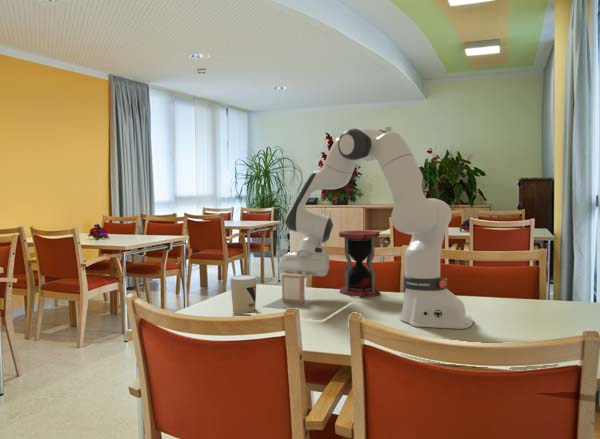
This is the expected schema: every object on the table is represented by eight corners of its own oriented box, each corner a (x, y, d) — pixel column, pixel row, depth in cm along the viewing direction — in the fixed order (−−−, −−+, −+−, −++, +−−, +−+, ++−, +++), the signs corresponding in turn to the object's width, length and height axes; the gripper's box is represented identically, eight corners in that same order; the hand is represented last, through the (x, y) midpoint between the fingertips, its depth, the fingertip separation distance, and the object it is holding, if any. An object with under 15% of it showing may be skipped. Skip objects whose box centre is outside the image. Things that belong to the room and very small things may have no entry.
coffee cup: (253, 314, 174) (252, 280, 174) (227, 313, 176) (226, 279, 176) (260, 308, 184) (259, 275, 183) (235, 307, 186) (235, 274, 185)
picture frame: (304, 301, 190) (304, 274, 189) (301, 303, 187) (301, 276, 187) (285, 299, 193) (285, 273, 193) (282, 301, 191) (281, 274, 190)
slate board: (313, 302, 191) (313, 300, 191) (294, 312, 177) (294, 310, 177) (283, 299, 197) (283, 297, 197) (262, 308, 183) (262, 306, 182)
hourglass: (361, 299, 195) (360, 234, 193) (331, 293, 207) (330, 232, 205) (387, 293, 206) (387, 231, 204) (357, 287, 218) (357, 229, 216)
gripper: (281, 247, 203) (270, 276, 195) (329, 249, 194) (319, 279, 186) (287, 257, 208) (276, 285, 200) (333, 259, 199) (324, 289, 191)
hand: (297, 282), depth 193 cm, fingers closed
